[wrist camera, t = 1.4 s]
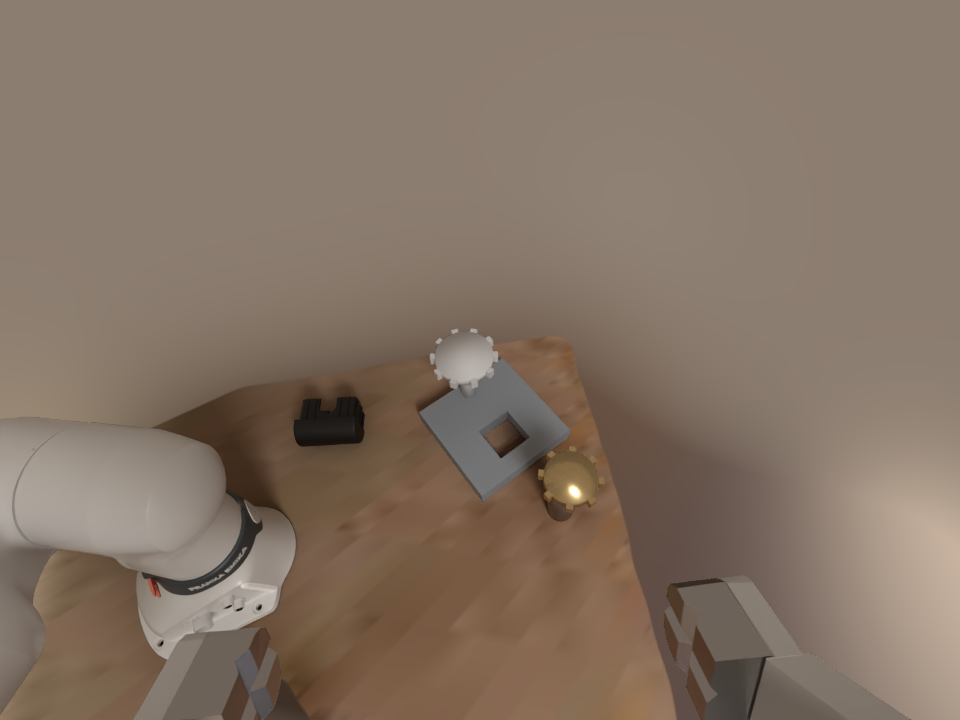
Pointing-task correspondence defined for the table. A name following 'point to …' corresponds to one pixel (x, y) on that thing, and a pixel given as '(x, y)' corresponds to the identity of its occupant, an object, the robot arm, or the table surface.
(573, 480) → the gear axle
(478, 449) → the gear board
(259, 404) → the table surface
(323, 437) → the end cap
